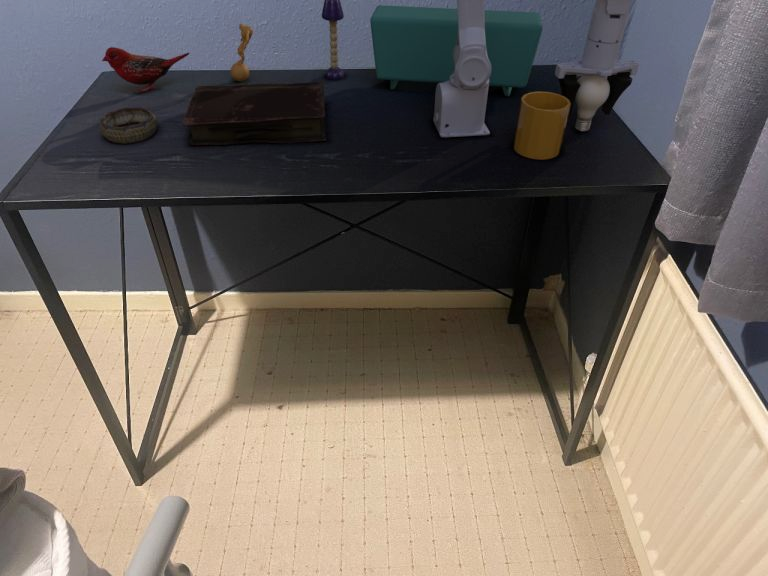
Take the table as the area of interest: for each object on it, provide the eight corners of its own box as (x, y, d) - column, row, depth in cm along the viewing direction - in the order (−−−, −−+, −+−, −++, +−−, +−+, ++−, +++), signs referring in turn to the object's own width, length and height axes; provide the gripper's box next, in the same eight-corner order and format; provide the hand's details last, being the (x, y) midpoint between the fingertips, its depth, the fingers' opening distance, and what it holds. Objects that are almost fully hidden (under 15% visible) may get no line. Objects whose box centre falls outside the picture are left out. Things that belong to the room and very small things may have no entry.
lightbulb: (599, 140, 107) (615, 81, 100) (564, 136, 108) (578, 78, 101) (597, 125, 112) (612, 68, 105) (563, 122, 113) (576, 65, 106)
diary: (201, 107, 117) (196, 82, 114) (324, 102, 119) (322, 78, 116) (187, 149, 103) (181, 123, 100) (326, 144, 105) (325, 118, 102)
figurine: (232, 74, 131) (222, 18, 123) (258, 73, 132) (251, 17, 124) (232, 88, 125) (222, 30, 117) (260, 86, 125) (252, 29, 118)
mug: (568, 156, 102) (579, 107, 96) (527, 162, 100) (536, 113, 95) (538, 129, 110) (547, 83, 104) (499, 135, 108) (506, 88, 102)
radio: (527, 82, 128) (540, 10, 118) (530, 101, 121) (543, 25, 111) (377, 73, 132) (377, 2, 122) (370, 91, 124) (369, 17, 114)
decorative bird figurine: (111, 96, 121) (96, 47, 115) (193, 79, 128) (183, 32, 122) (115, 101, 119) (100, 51, 113) (197, 83, 127) (188, 36, 120)
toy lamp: (349, 75, 131) (347, -4, 120) (338, 82, 128) (334, 1, 117) (332, 71, 133) (328, -8, 122) (320, 77, 130) (315, -3, 119)
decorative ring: (165, 121, 112) (113, 121, 112) (161, 105, 110) (108, 105, 110) (150, 145, 104) (95, 146, 104) (145, 128, 102) (89, 129, 102)
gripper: (572, 47, 95) (556, 124, 104) (655, 44, 97) (632, 120, 105) (557, 34, 100) (543, 108, 109) (636, 31, 102) (615, 104, 111)
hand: (585, 113), depth 108 cm, fingers open, 7 cm apart
